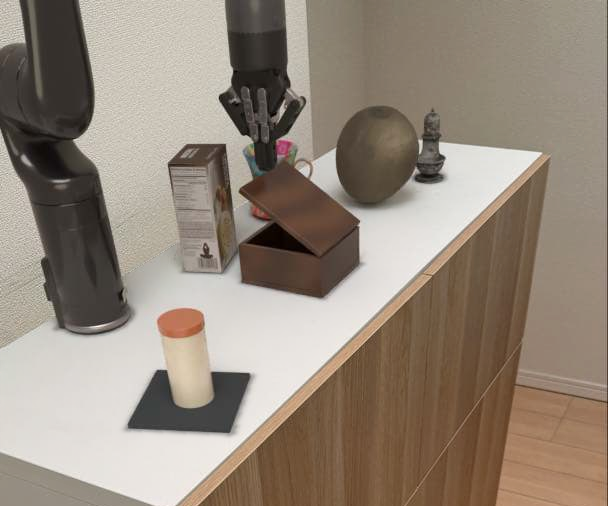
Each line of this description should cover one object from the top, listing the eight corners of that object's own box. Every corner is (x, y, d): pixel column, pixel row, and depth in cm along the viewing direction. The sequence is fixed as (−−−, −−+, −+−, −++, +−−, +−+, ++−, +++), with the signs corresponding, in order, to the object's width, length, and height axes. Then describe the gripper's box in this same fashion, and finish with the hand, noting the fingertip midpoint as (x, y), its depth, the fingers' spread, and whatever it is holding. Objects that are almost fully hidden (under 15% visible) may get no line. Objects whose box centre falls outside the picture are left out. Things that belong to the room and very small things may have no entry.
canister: (166, 408, 90) (151, 329, 84) (178, 384, 94) (164, 307, 87) (209, 409, 90) (197, 330, 83) (219, 385, 94) (208, 308, 87)
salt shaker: (408, 175, 146) (410, 105, 138) (436, 171, 147) (441, 101, 139) (420, 185, 142) (424, 113, 134) (449, 180, 143) (455, 109, 135)
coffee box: (201, 248, 126) (186, 142, 115) (238, 249, 125) (227, 142, 114) (183, 272, 119) (166, 162, 108) (223, 274, 118) (209, 162, 107)
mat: (128, 428, 89) (127, 423, 89) (157, 373, 98) (156, 369, 97) (229, 432, 87) (229, 428, 87) (250, 376, 96) (249, 372, 95)
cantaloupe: (340, 219, 132) (339, 123, 122) (332, 190, 142) (330, 100, 132) (422, 212, 132) (427, 116, 122) (408, 185, 143) (412, 94, 133)
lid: (237, 192, 106) (239, 187, 106) (282, 164, 114) (284, 159, 114) (319, 257, 107) (321, 253, 106) (358, 225, 115) (360, 220, 114)
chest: (241, 282, 116) (237, 244, 112) (282, 250, 124) (280, 213, 120) (322, 298, 111) (320, 258, 107) (359, 264, 119) (359, 226, 115)
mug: (240, 221, 134) (234, 155, 126) (259, 201, 140) (254, 138, 133) (306, 226, 131) (303, 159, 123) (322, 206, 137) (320, 141, 130)
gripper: (316, 20, 97) (320, 167, 109) (228, 16, 102) (241, 156, 114) (287, 32, 92) (294, 183, 104) (196, 26, 97) (213, 172, 109)
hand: (266, 169), depth 109 cm, fingers closed
